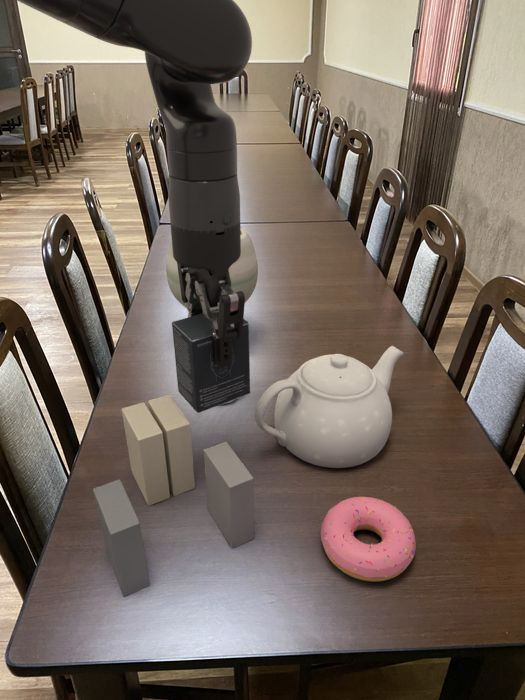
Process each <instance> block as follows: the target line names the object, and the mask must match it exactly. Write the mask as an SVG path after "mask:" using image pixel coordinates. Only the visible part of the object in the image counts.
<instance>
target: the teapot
mask: <svg viewBox="0 0 525 700" xmlns="http://www.w3.org/2000/svg"><path fill="white" fill-rule="evenodd" d="M404 354H405V353H404V352H403V351H402V350H400V349H399V348H397V347H396V346H394V345H391V346H389V347H388V348H387V349H386V350H385V351H384V352H383V354H382V355H381V357H380V358H379V360H378V361H377V363H376V364H375V365H374V366H373V368H372V369H371V368H370V367H369V366H368V365H366V364H365V363H363V362H362V361H360V360H358V359H356V358H354V357H352V356H348V355H344V353H343V354H342V353H333V354H325V355H320V356H317V357H313V358H312V359H309V360H307V361H305V362H304V363H303V364H301V365H300V367H299V368H298V369H296V370H295V371H294V372H293V373H292V374H291V375H289V376H288V378H286V379H281V380H278V381H276V382H274V383H272V384H271V385H270V386H269V387H268V388H267V389H265V391H264V392H263V393H262V394H261V397H260V398H259V400H258V402H257V404H256V407H255V411H254V420H255V422H256V424H257V426H258V427H259V428H260V430H261V431H263V432H264V433H266V434H267V435H269V436H272V437H274V438H276V439H277V442H278V444H279V445H280V446H281V447H285V448H286V450H288V451H289V452H290V453H291V454H292V455H293V456H296V457H297V458H298V459H300V460H302V461H304V462H306V463H309V464H311V465H315V466H318V467H322V468H329V469H330V468H331V469H346V468H351V467H356V466H359V465H362V464H364V463H367V462H368V461H370V460H372V459H373V458H374V457H376V456H377V455H378V454H379V453H380V452H381V451H382V450H383V448H384V447H385V445H386V443H387V442H388V439H389V436H390V434H391V429H392V426H393V425H392V424H393V409H392V403H391V400H390V397H389V391H390V387H391V382H392V377H393V372H394V369H395V365H396V363H397V362H398V360H399V359H400V358H402V356H404ZM276 396H277V397H276ZM275 397H276V401H275V406H274V412H273V413H274V414H273V415H274V416H273V417H274V418H273V419H274V425H275V426H274V427H272V426H270V425H268V424H267V423H266V422H265V419H264V417H265V413H266V410H267V408H268V406H269V404H270V403H271V402H272V400H273V399H274V398H275Z"/></svg>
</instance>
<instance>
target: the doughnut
mask: <svg viewBox="0 0 525 700" xmlns="http://www.w3.org/2000/svg"><path fill="white" fill-rule="evenodd" d="M361 530H368V531H371V532H374V533H376V534H377V535H378V536H379V537H380V538H381V541H380V542H377V543H375V542H372V543H371V544H370V543H368V542H367V543H365V542H363V540H361V541H360V539H359V538H358V539H357V537H355V534H354V533H355V532H357V531H361ZM416 536H417V534H415V533H414V529H413V526H412V525H411V523H410V519H408V518H407V517H406V516H405V513H403V512H402V511H400V510H399V509H398V508H397V506H396V505H395V506H394V505H393V504H391V503H389V502H387V501H386V499H384V500H382V499H379V498H377V497H371V496H363V495H361V496H358V495H357V494H356V496H353V497H349V498H348V497H347V498H345V499H344V500H341V501H338V502H336V504H334V506H332V507H331V508H328V511H327V513H326V515H324V518H323V521H322V523H321V527H320V539H321V543H322V547H323V549H324V552H325V554H326V555H327V557H328V559H329V560H330V562H331V563H332V564H333V565H334V566H335V567H336V568H337V569H338V570H340V571H341V572H343V573H344V574H346V575H347V576H349V577H352V578H354V579H357V580H360V581H363V582H364V581H365V582H373V583H374V582H384V581H388V580H392V579H394V578H396V577H398V576H400V575H401V574H402V573H403V572H404V571H405V570H406V569H408V566H409V565H410V564H411V563H412V561H413V559H414V558H415V555H416V549H417V542H416Z"/></svg>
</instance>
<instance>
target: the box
mask: <svg viewBox="0 0 525 700" xmlns="http://www.w3.org/2000/svg"><path fill="white" fill-rule="evenodd" d="M218 310H219V309H216V310H212V312H214V311H218ZM218 324H219V318H217V325H218ZM249 327H250V323H249V321H247V320H246V319H245V318H244V319H243V332H242V337H240V338H235V339H232V361H231V362H230V363H227V364H223V365H220V366H217V365H216V364H215V363H214V362H213V349H212V332H211V328H210V323H209V321H208V320H206V319H205V318H204V315H203V313H202V314H199V315H195V316H192V317H188V316H187V317H185V318H182V319H179V320H174V321H172V322H171V328H172V340H173V349H174V351H173V352H174V359H175V370H176V380H177V381H176V382H177V390H178V393H179V394H180V396H181V397H182V398H183V399H184V400H185V401H186V402H187V403H188V404H189V406H190V407H191V408H192V409H193V410H194V411H195V412H196V413H197V414H199V413H200V414H201V413H202V412H205V411H207V410H210V409H212V408H214V407H218V406H220V405H224V404H223V403H226V402H228V401H231V400H233V399H235V400H237V399H239V398H242V397H244V396H246V395H249V394H251V374H250V373H251V369H250V368H251V367H250V366H251V365H250V363H251V362H250V328H249ZM236 398H237V399H236Z"/></svg>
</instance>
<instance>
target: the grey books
mask: <svg viewBox="0 0 525 700" xmlns="http://www.w3.org/2000/svg"><path fill="white" fill-rule="evenodd" d="M203 458H204V459H203V461H204V474H205V489H206V490H205V491H206V505H207V510H208V512H209V514H210V515H211V517H212V519H213V520H214V522H215V524H216V525H217V527H218V528H219V530H220V531H221V534H222V535H223V536H224V538H225V540H226V542H227V543H228V545H229V547H230V549H234V548H236V547H238V546H240V545H243V544H245V543H248V542H250V541H252V540H254V539H255V508H254V507H255V498H254V497H255V496H254V495H255V493H254V492H255V491H254V489H255V488H254V486H255V485H254V483H255V482H254V481H255V479H254V477H253V475H252V474H251V473H250V472H249V470H248V468H247V467H246V466H245V464H244V463H243V462H242V460H241V459H240V458H239V457H238V455H237V454H236V453H235V451H234V450H233V449H232V447H231V445H229V443H228V442H227V441H224V442H221V443H218V444H215V445H213V446H209V447H207V448H204V449H203ZM92 493H93V496H94V501H95V505H96V510H97V515H98V518H99V523H100V528H101V533H102V537H103V541H104V546H105V550H106V554H107V556H108V559H109V562H110V564H111V567H112V569H113V573H114V575H115V578H116V581H117V583H118V587H119V589H120V591H121V594H122V596H123V597H127V596H128V595H131V594H133V593H135V592H138V591H140V590H142V589H144V588H146V587H148V586H150V585H151V583H150V577H149V571H148V570H149V569H148V564H147V559H146V552H145V547H144V539H143V533H142V528H141V523H140V521H139V518H138V516H137V513H136V511H135V509H134V507H133V505H132V502H131V500H130V498H129V496H128V494H127V491H126V490H125V486H124V484H123V482H122V480H121V479H116V480H114V481H111V482H108V483H105V484H102V485H100V486H96V487H93V488H92Z"/></svg>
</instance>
